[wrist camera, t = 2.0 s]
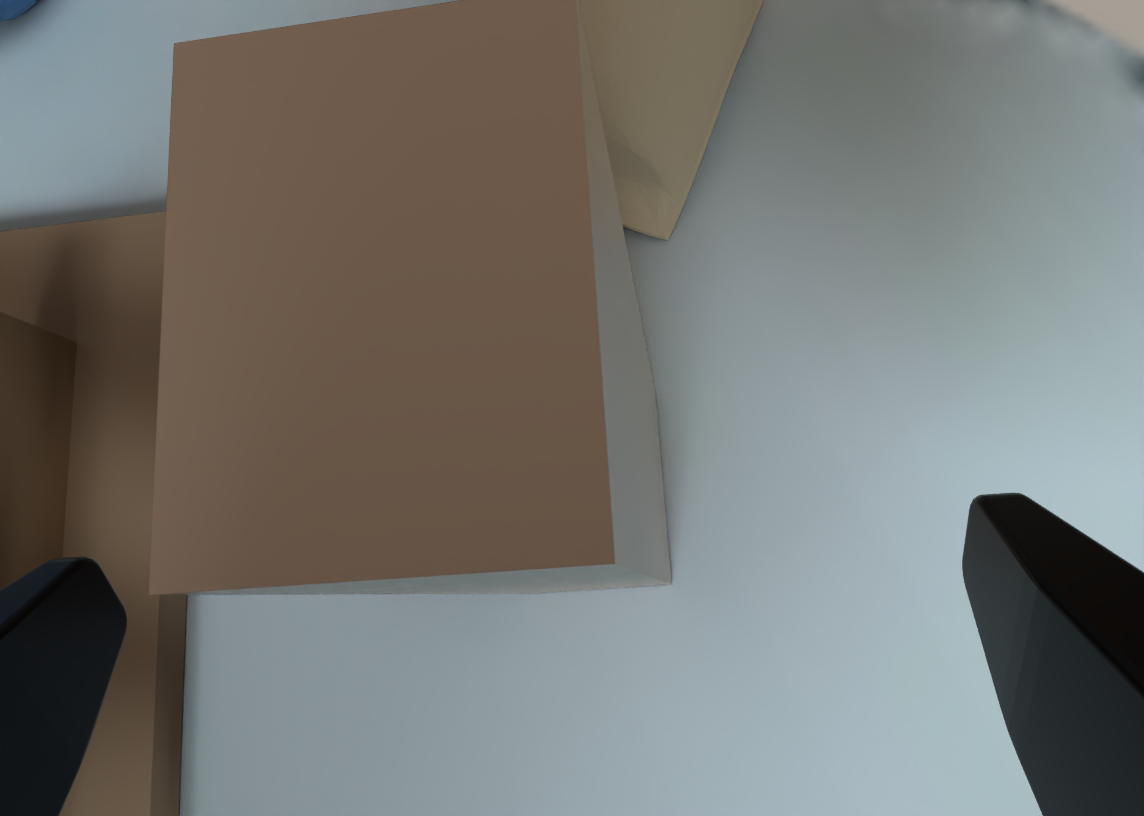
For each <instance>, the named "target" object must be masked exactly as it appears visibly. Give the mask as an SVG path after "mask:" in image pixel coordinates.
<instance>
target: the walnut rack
mask: <svg viewBox="0 0 1144 816" xmlns="http://www.w3.org/2000/svg"><path fill="white" fill-rule="evenodd" d="M165 229H166V211H160V212H152V213H144V214H136V215H128V216H120V217H112V218H104V219H96V220H88V221H80V222H72V223H64V224H56V225H48V226H40V227H32V228H24V229H16V230H8V231H0V590H2V589H3V588H5V587H6V586H8V585H10V584H11V583H13V582H14V581H16V580H18V579H19V578H21V577H22V576H24V575H26V574H27V573H29V572H30V571H32V570H34V569H35V568H37V567H38V566H40V565H42V564H43V563H45V562H47V561H49V560H52V559H56V558H67V557H82V556H83V557H89V558H92V559H93V560H94V561H96V562H97V563H98V564H99V565H100V567H101V568H102V570H103V572H104V574H105V575H106V577H107V579H108V580H109V582H110V584H111V585H112V587H113V589H114V591H115V592H116V594H117V596H118V597H119V599H120V601H121V602H122V604H123V606H124V608H125V610H126V614H127V631H126V635H125V638H124V641H123V644H122V647H121V649H120V652H119V655H118V658H117V661H116V664H115V667H114V670H113V673H112V676H111V679H110V682H109V685H108V688H107V691H106V694H105V697H104V700H103V703H102V706H101V709H100V712H99V715H98V718H97V721H96V724H95V727H94V730H93V733H92V736H91V739H90V742H89V745H88V748H87V750H86V753H85V756H84V759H83V761H82V764H81V767H80V769H79V771H78V774H77V776H76V779H75V781H74V783H73V786H72V788H71V790H70V793H69V795H68V797H67V799H66V802H65V804H64V806H63V808H62V811H61V813H60V815H59V816H179V790H180V763H181V736H182V708H183V681H184V653H185V626H186V598H187V595H149V581H150V559H151V537H152V515H153V493H154V471H155V449H156V427H157V405H158V383H159V361H160V339H161V317H162V295H163V273H164V251H165Z"/></svg>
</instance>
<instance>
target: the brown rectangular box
mask: <svg viewBox="0 0 1144 816" xmlns="http://www.w3.org/2000/svg"><path fill="white" fill-rule="evenodd" d="M658 585H672V577H671V565H670V553H669V541H668V529H667V518H666V506H665V494H664V482H663V470H662V458H661V446H660V434H659V422H658V410H657V398H656V392H655V387H654V382H653V377H652V372H651V367H650V361H649V356H648V351H647V346H646V341H645V336H644V331H643V326H642V321H641V316H640V311H639V306H638V301H637V296H636V291H635V286H634V281H633V276H632V271H631V266H630V261H629V256H628V250H627V245H626V240H625V235H624V230H623V225H622V220H621V215H620V210H619V205H618V200H617V195H616V190H615V185H614V180H613V175H612V170H611V165H610V160H609V155H608V150H607V145H606V139H605V134H604V129H603V124H602V119H601V114H600V109H599V104H598V99H597V94H596V89H595V84H594V79H593V74H592V69H591V64H590V59H589V54H588V49H587V44H586V39H585V34H584V28H583V23H582V18H581V13H580V8H579V3H578V0H460V1H453V2H446V3H440V4H433V5H426V6H420V7H413V8H406V9H400V10H393V11H386V12H380V13H373V14H367V15H360V16H353V17H347V18H340V19H333V20H327V21H320V22H313V23H307V24H300V25H293V26H287V27H280V28H273V29H267V30H260V31H253V32H247V33H240V34H233V35H227V36H220V37H214V38H207V39H200V40H194V41H187V42H180V43H174V54H173V76H172V98H171V120H170V142H169V164H168V186H167V207H166V229H165V251H164V273H163V295H162V317H161V339H160V361H159V383H158V405H157V427H156V449H155V471H154V493H153V515H152V537H151V559H150V581H149V595H300V594H531V593H547V592H563V591H579V590H594V589H610V588H626V587H642V586H658Z"/></svg>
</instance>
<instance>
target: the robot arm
mask: <svg viewBox="0 0 1144 816" xmlns="http://www.w3.org/2000/svg"><path fill="white" fill-rule="evenodd" d="M962 569H963V577H964V583H965V587H966V590H967V594H968V597H969V601H970V604H971V607H972V611H973V614H974V618H975V621H976V625H977V628H978V632H979V635H980V639H981V642H982V645H983V649H984V652H985V656H986V659H987V663H988V666H989V670H990V673H991V676H992V680H993V683H994V687H995V690H996V694H997V697H998V701H999V704H1000V707H1001V711H1002V714H1003V717H1004V720H1005V723H1006V727H1007V730H1008V732H1009V735H1010V738H1011V740H1012V743H1013V745H1014V748H1015V750H1016V753H1017V756H1018V758H1019V760H1020V763H1021V765H1022V767H1023V770H1024V772H1025V775H1026V777H1027V779H1028V782H1029V784H1030V786H1031V789H1032V791H1033V793H1034V796H1035V798H1036V801H1037V803H1038V805H1039V808H1040V810H1041V812H1042V815H1043V816H1144V572H1142V571H1141V570H1139V569H1138V568H1136V567H1135V566H1133V565H1132V564H1130V563H1129V562H1127V561H1125V560H1124V559H1122V558H1121V557H1119V556H1118V555H1116V554H1115V553H1113V552H1112V551H1110V550H1109V549H1107V548H1106V547H1104V546H1102V545H1101V544H1099V543H1098V542H1096V541H1095V540H1093V539H1092V538H1090V537H1089V536H1087V535H1086V534H1084V533H1082V532H1081V531H1079V530H1078V529H1076V528H1075V527H1073V526H1072V525H1070V524H1069V523H1067V522H1066V521H1064V520H1062V519H1061V518H1059V517H1058V516H1056V515H1055V514H1053V513H1052V512H1050V511H1049V510H1047V509H1046V508H1044V507H1042V506H1041V505H1039V504H1038V503H1036V502H1035V501H1033V500H1032V499H1030V498H1029V497H1027V496H1025V495H1023V494H1020V493H1001V494H986V495H979V496H977V497H976V498H974V499H973V501H972V503H971V505H970V509H969V516H968V523H967V530H966V537H965V544H964V552H963V560H962ZM126 631H127V614H126V610H125V608H124V606H123V604H122V602H121V601H120V599H119V597H118V596H117V594H116V592H115V591H114V589H113V587H112V585H111V584H110V582H109V580H108V579H107V577H106V575H105V574H104V572H103V570H102V568H101V567H100V565H99V564H98V563H97V562H96V561H94V560H93V559H92V558H89V557H83V556H82V557H67V558H56V559H52V560H49V561H47V562H45V563H43V564H42V565H40V566H38V567H37V568H35V569H34V570H32V571H30V572H29V573H27V574H26V575H24V576H22V577H21V578H19V579H18V580H16V581H14V582H13V583H11V584H10V585H8V586H6V587H5V588H3V589H2V590H0V816H59V815H60V813H61V811H62V808H63V806H64V804H65V802H66V799H67V797H68V795H69V793H70V790H71V788H72V786H73V783H74V781H75V779H76V776H77V774H78V771H79V769H80V767H81V764H82V761H83V759H84V756H85V753H86V750H87V748H88V745H89V742H90V739H91V736H92V733H93V730H94V727H95V724H96V721H97V718H98V715H99V712H100V709H101V706H102V703H103V700H104V697H105V694H106V691H107V688H108V685H109V682H110V679H111V676H112V673H113V670H114V667H115V664H116V661H117V658H118V655H119V652H120V649H121V647H122V644H123V641H124V638H125V635H126Z"/></svg>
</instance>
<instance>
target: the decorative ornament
mask: <svg viewBox="0 0 1144 816" xmlns="http://www.w3.org/2000/svg"><path fill="white" fill-rule="evenodd" d="M578 3H579V8H580V13H581V18H582V23H583V28H584V34H585V39H586V44H587V49H588V54H589V59H590V64H591V69H592V74H593V79H594V84H595V89H596V94H597V99H598V104H599V109H600V114H601V119H602V124H603V129H604V134H605V139H606V145H607V150H608V155H609V160H610V165H611V170H612V175H613V180H614V185H615V190H616V195H617V200H618V205H619V210H620V215H621V220H622V225H623V227H626V228H628V229H631V230H634V231H637V232H640V233H643V234H646V235H648V236H652V237H656V238H660V239H663V240H667V241H668V240H669V238H670V236H671V234H672V232H673V229H674V227H675V225H676V222H677V220H678V218H679V216H680V213H681V211H682V208H683V206H684V203H685V201H686V198H687V196H688V193H689V191H690V188H691V186H692V183H693V181H694V178H695V176H696V173H697V171H698V168H699V165H700V163H701V160H702V158H703V155H704V152H705V150H706V147H707V144H708V141H709V139H710V136H711V133H712V130H713V128H714V125H715V122H716V119H717V117H718V114H719V111H720V108H721V106H722V103H723V100H724V97H725V95H726V92H727V89H728V87H729V84H730V81H731V79H732V76H733V73H734V71H735V68H736V66H737V63H738V61H739V58H740V56H741V54H742V51H743V49H744V47H745V44H746V42H747V39H748V37H749V35H750V32H751V30H752V28H753V25H754V23H755V21H756V18H757V16H758V13H759V11H760V8H761V6H762V3H763V0H578Z"/></svg>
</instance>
